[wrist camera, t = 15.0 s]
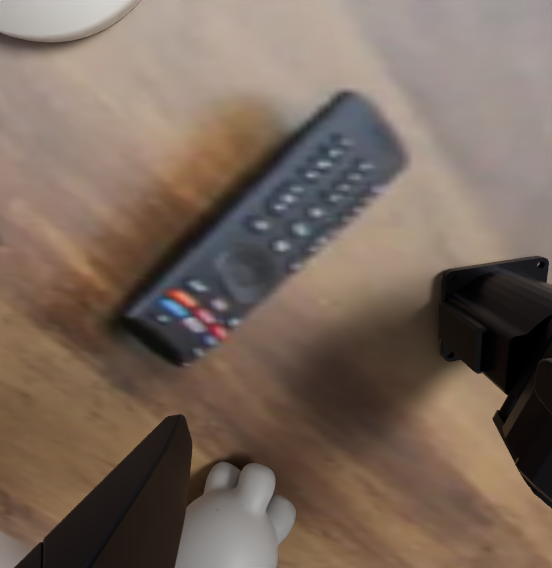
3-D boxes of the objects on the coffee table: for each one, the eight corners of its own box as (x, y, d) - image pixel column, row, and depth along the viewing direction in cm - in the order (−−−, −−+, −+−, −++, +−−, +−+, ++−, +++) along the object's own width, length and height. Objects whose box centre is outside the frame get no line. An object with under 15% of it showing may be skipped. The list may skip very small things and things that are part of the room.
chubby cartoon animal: (150, 448, 28) (63, 562, 21) (276, 449, 23) (220, 601, 16) (187, 507, 30) (120, 629, 23) (310, 520, 25) (273, 681, 18)
